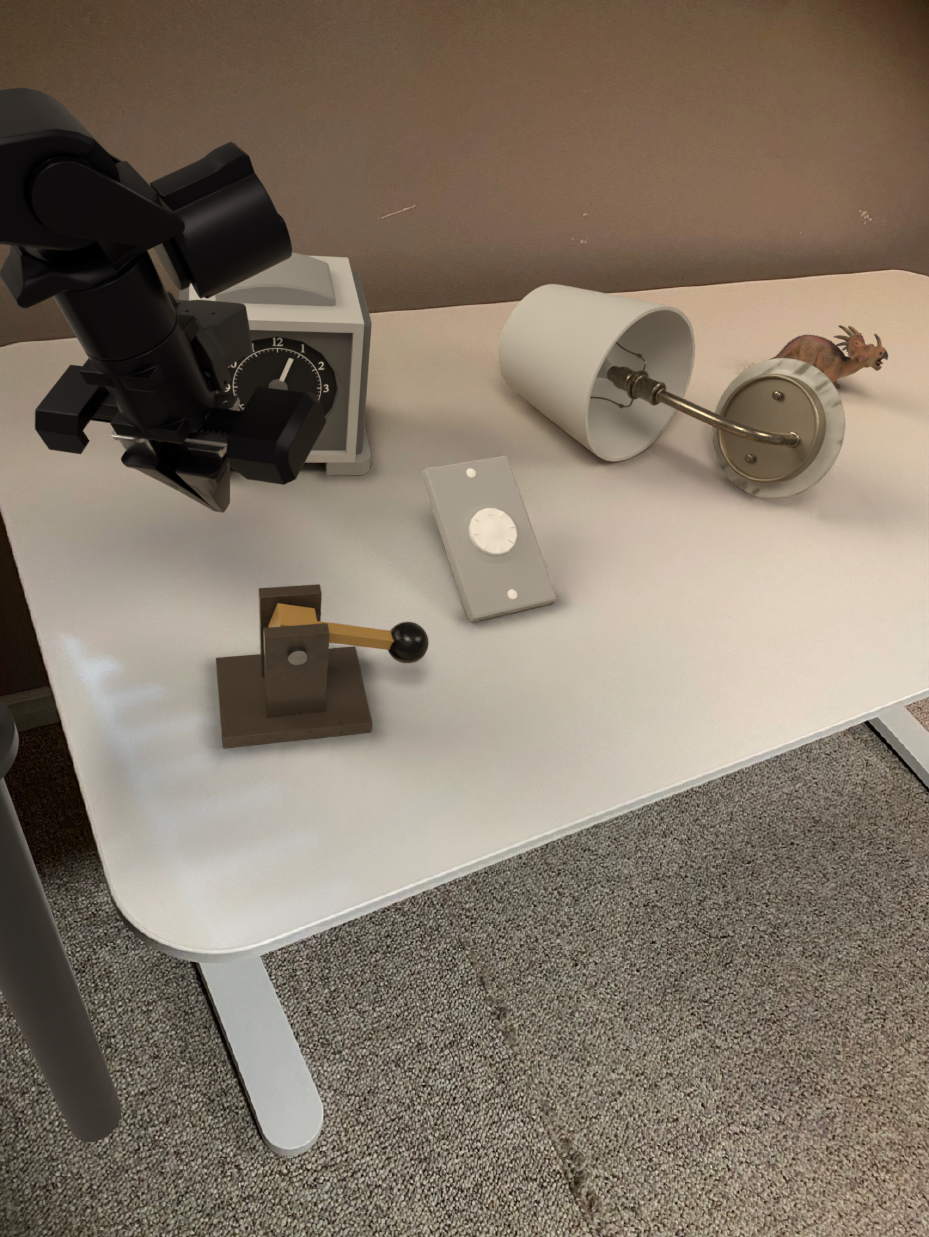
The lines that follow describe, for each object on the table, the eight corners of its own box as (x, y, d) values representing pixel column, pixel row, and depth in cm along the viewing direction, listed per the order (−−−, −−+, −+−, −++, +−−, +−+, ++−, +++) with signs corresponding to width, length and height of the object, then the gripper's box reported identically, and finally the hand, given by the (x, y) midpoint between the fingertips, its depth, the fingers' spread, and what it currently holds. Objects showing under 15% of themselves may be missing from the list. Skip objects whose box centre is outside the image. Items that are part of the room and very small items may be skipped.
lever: (414, 644, 73) (430, 615, 71) (423, 674, 71) (439, 646, 69) (265, 624, 68) (278, 593, 66) (269, 657, 66) (283, 625, 64)
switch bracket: (354, 655, 76) (361, 567, 69) (371, 732, 71) (380, 644, 64) (216, 667, 73) (209, 576, 67) (222, 748, 68) (215, 658, 61)
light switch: (477, 616, 79) (426, 463, 82) (455, 635, 84) (408, 491, 87) (562, 596, 82) (511, 449, 85) (536, 615, 88) (489, 477, 91)
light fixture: (709, 542, 84) (465, 407, 103) (802, 531, 97) (570, 413, 117) (788, 360, 77) (510, 252, 96) (877, 375, 90) (617, 277, 110)
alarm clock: (181, 476, 90) (165, 296, 77) (183, 401, 99) (168, 229, 86) (371, 475, 94) (385, 305, 81) (356, 403, 103) (366, 240, 90)
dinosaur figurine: (859, 389, 121) (891, 324, 115) (861, 412, 117) (895, 345, 111) (756, 363, 123) (782, 297, 116) (754, 384, 119) (781, 317, 112)
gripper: (326, 256, 56) (380, 443, 68) (69, 237, 61) (164, 415, 74) (247, 381, 50) (323, 560, 63) (-28, 349, 55) (93, 520, 68)
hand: (222, 507), depth 67 cm, fingers closed
